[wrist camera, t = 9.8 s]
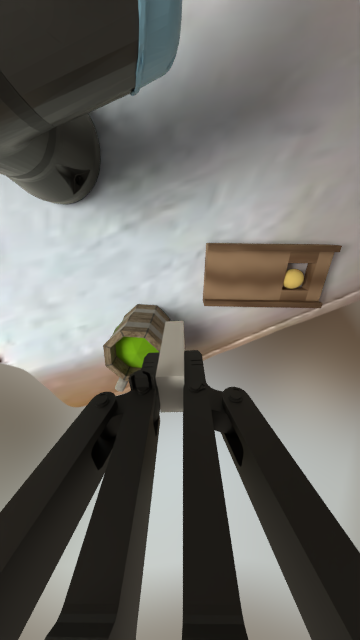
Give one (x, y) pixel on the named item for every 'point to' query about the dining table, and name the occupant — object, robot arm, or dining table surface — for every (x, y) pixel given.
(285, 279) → the ball
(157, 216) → the dining table surface
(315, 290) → the lane board
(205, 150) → the dining table surface
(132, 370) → the mug
